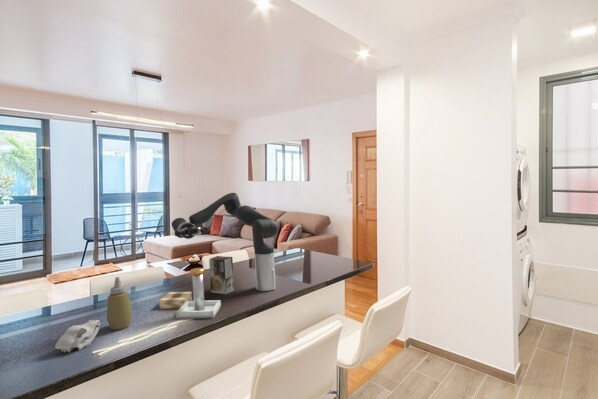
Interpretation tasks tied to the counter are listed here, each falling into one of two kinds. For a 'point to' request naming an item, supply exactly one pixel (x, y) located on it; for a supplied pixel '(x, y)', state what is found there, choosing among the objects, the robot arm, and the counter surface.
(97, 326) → the skull
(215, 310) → the tray
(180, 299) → the socket block
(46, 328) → the counter surface
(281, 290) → the counter surface
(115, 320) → the squeeze bottle
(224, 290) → the coffee box
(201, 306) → the pin
